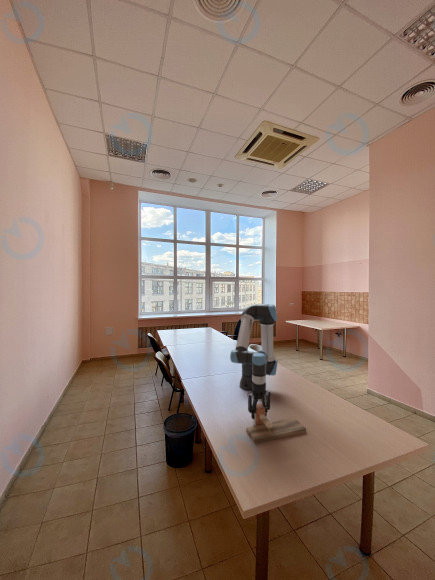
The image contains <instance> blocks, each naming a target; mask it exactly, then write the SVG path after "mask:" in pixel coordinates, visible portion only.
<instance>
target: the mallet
mask: <svg viewBox="0 0 435 580" xmlns="http://www.w3.org/2000/svg"><path fill="white" fill-rule="evenodd" d="M255 413H256V426H257V425H262V424H265V425H266V426H267V427H268V429H269V432H270V428H272V422H271V421H270V420H269V419H268V417H267V416H266V417H265V407H264V406H263V405H262V402H260V403H257V405H256V410H255Z"/></svg>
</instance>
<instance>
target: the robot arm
mask: <svg viewBox="0 0 435 580" xmlns="http://www.w3.org/2000/svg"><path fill="white" fill-rule="evenodd" d="M240 321H241V322H240V327H239V331H238V336H237V340H236V345H235V349H233V350H231V352H230V355H229V356H230V357H229V359H230V362H231V363H232V364H233V363H234V364H241V378H240V380H239V387H240V388H241V389H242V390H245V391H251V392H250V393H247V410H248V412H249V414H250V415H251V417H250V418H251V419H252V424H253V426H256V413H255V410H256V405H257V404H258V402H259V400H260V401H261V402H260V403H261V404H262V405H263V406H264V407H265V417H266V418H267V416H268V415H267V413H268V412H269V411H270V410H271V395H272V393H271V391H269V390H267V376H269V377H270V376H276V374H277V369H278V359H276V356H275V355H274V325H275V324H276V322H277V321H278V311H277V307H276V305H275V304H271V303H270V304H269V303H268V304H267V303H260V304H259V303H253V304H250V305H248V306H247V307H245V308H244V310H243V311H242V313H241V315H240ZM255 321H258V324H259V325H260V331H261V332H260V335H261V337H260V338H261V339H260V341H261V350H258V351H249V344H250V338H251V332H252V326H253V324H254V322H255Z"/></svg>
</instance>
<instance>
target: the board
mask: <svg viewBox="0 0 435 580" xmlns="http://www.w3.org/2000/svg"><path fill="white" fill-rule="evenodd" d="M271 423H272V428H270V432H269V429H268V427H267V426H266V425H265V424H262V425H257V426H255V425H253V426H249V427H246V431H245V432H246V433H247V435H248V436H249V437H250V439H251V441H252V442H253V443H254V444H260V443H264V442H268V441H273V440H277V439H281V438H287V437H290V436H294V435H295V436H296V435H299V434H303V433H307V427H306V426H304V425H303V424H302V423H301V422H300V421H299V420H298V419H297V418H296V417H293V418H288V419H284V420H277V421H274V422H271Z"/></svg>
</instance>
